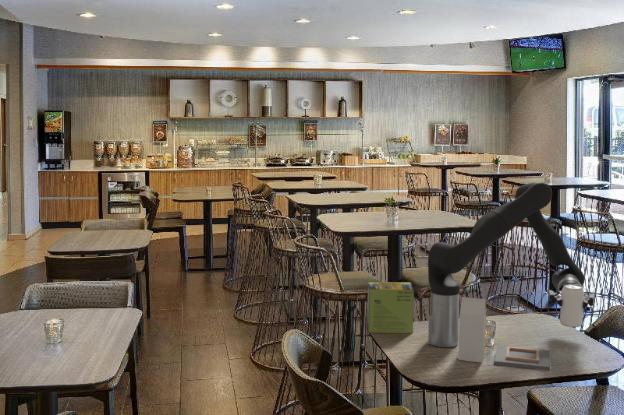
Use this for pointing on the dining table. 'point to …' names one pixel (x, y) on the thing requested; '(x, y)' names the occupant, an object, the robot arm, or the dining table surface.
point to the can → (572, 305)
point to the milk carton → (472, 329)
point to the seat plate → (522, 357)
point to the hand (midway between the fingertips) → (572, 304)
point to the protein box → (390, 307)
